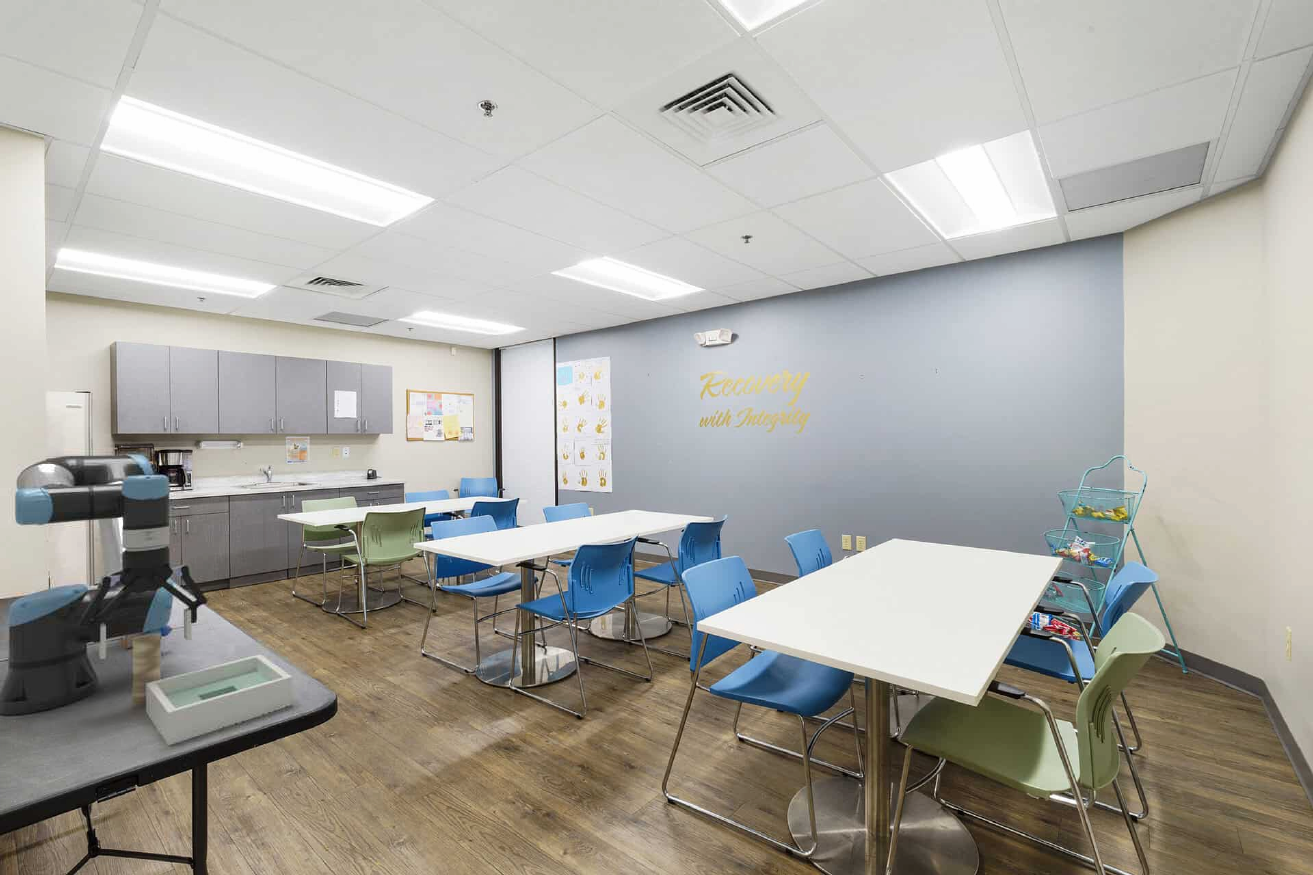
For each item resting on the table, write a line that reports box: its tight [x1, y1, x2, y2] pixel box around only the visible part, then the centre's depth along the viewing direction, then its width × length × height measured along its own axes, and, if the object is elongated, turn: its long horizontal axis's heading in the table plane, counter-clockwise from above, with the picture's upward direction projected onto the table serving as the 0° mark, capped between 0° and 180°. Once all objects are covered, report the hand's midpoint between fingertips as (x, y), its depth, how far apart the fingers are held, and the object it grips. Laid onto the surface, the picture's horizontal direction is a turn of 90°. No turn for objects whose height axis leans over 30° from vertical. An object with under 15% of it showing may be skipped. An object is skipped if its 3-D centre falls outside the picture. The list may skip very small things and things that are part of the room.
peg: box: [132, 633, 162, 708], centre depth 121 cm, size 4×4×14 cm
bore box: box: [145, 654, 293, 746], centre depth 118 cm, size 20×20×6 cm
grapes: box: [138, 624, 173, 639], centre depth 148 cm, size 12×7×12 cm, turn 47°
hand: (146, 647), depth 121 cm, fingers open, 13 cm apart
